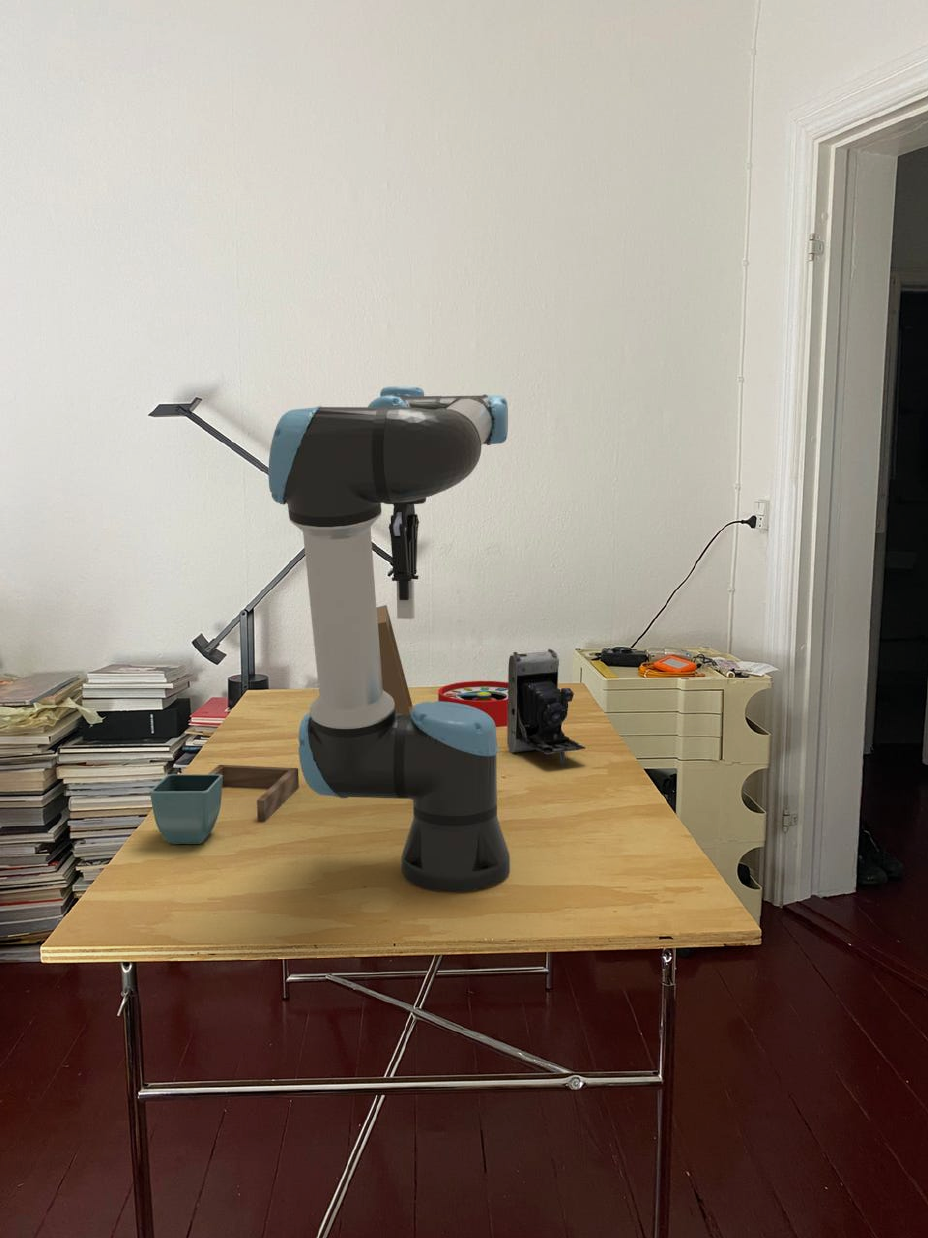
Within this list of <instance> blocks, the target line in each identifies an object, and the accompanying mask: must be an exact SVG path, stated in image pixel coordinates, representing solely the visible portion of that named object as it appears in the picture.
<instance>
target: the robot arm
mask: <svg viewBox="0 0 928 1238" xmlns="http://www.w3.org/2000/svg"><path fill="white" fill-rule="evenodd" d="M508 430H509V409H508V401H507V399H506V397H504V396H502V395H489V394H483V395H447V396H446V395H442V396H441V395H425V392H424V390H423V389H422V388H421V387H419V386H407V385H406V386H405V385H403V386H402V385H401V386H400V385H399V386H387V387H383V388H382V389H380V392H379V397H377V398H375V399H374V400H373V399H372V401H371V402H370V403H369V404H368V405H367V406H364V407H363V406H362V407H361V406H360V407H359V406H349V407H348V406H321V405H319V406H315V407H307V408H305V407H304V408H295V409H290V410H288V411H287V412H285V413H284V414H283V415H282V416H281V417H280V419H279V420H278V421H277V424H276V426H275V429H274V432H273V436H272V439H271V443H270V450H269V457H268V469H267V470H268V488H269V492H270V494H271V498H272V500H273V501H274V502H275V503H279V504H280V505H283V506H284V505H286V504H287V510H288V517H289V518H288V519H289V522H290V523H292V524H293V525H294V526H295V527H296V528H297V529H299V530H300V531H302V538H303V544H304V545H303V546H304V547H303V548H304V554H305V555H304V556H305V565H306V567H305V568H306V573H307V574H306V577H307V584H308V585H307V586H308V597H309V606H310V616H311V624H312V634H313V646H314V655H315V656H314V657H315V665H316V674H317V684H318V685H317V686H318V695H319V696H318V697H316V698H315V699H314V700H313V702H312V703H311V704H310V706H309V712H308V713H306V714H305V715H304V716H303V717H302V720H301V722H300V724H299V729H298V743H299V747H298V757H299V764H300V768H301V772H302V775H303V777H304V780H305V782H306V784H307V785H308V787H309V788H310V789H311V791H313V792H314V793H316V794H318V795H320V796H328V797H329V796H330V797H336V798H339V799H348V798H368V799H369V798H370V799H396V800H397V799H403V800H412V804H413V805H412V806H413V808H412V809H413V813H412V814H413V818H412V822H411V825H410V828H409V831H408V834H407V837H406V841H405V844H404V846H403V850H402V854H401V859H400V860H401V875H402V877H403V878H404V879H405V880H406V881H408V882H409V883H411V885H415V886H416V887H418V888H419V887H420V888H422V889H425V890H431V891H436V892H445V893H446V892H447V893H464V892H472V891H478V890H483V889H486V888H489V887H492V886H496V885H497V884H499V883H501V882H503V881H504V880H506V878H507V877H508V876H509V874H510V872H511V869H510V868H511V866H510V861H511V860H510V853H509V849H508V846H507V843H506V840H505V837H504V834H503V831H502V828H501V825H500V822H499V819H498V784H497V783H498V780H497V779H498V777H497V774H498V773H497V772H498V771H497V768H498V767H497V766H498V765H497V761H498V759H497V755H498V753H499V746H498V741H497V739H498V737H497V727H496V726H495V723H494V721H493V719H492V718H491V717H490V716H489V715H488V714H487V713H485V712H483V711H481V710H480V709H477V708H474V707H471V706H468V705H463V704H458V703H452V702H440V701H437V700H436V701H435V700H434V701H433V702H431V701H423V702H419V703H417V704H414V705H413V709H412V711H411V713H410V714H395V703H394V700H393V698H392V697H391V696H390V695H389V694H388V693H386V692H385V691H384V690H383V689H382V676H381V662H380V648H379V635H378V621H377V607H378V606H377V595H376V582H375V569H374V555H373V541H372V528H371V527H372V526H373V525H374V523H375V522H376V521H377V520H378V519H379V518H380V517H381V516H382V504H384V505H393V511H392V514H391V515H390V523H389V525H388V530H389V536H390V543H391V544H390V545H391V546H390V547H391V557H392V558H391V561H392V571H393V572H392V573H393V575H392V576H393V577H391V581H392V582H396V613H397V614H396V615H397V617H396V619H402V620H403V619H404V620H405V619H407V620H408V619H409V620H413V619H415V580H419V577H420V575H417V573H418V569H417V562H418V560H417V559H418V539H419V538H418V534H419V525H420V520H419V516H418V514H416V509H415V505H422V504H425V503H426V501H427V498H429V497H432V496H435V495H438V494H440V493H443V492H445V491H447V490H449V489H451V488H453V487H455V486H457V485H458V484H460V483H461V482H463V480H465V479H466V478H467V477H469V476H470V475H471V474H472V473H473V471H474V470H475V468H476V466H477V465H478V463H479V461H480V458H481V453H482V446H483V445H487V446H490V445H494V444H495V445H497V444H498V445H499V444H503V443H505V442H506V440H507V439H508V434H509V433H508Z"/></svg>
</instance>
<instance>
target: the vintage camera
mask: <svg viewBox="0 0 928 1238" xmlns="http://www.w3.org/2000/svg"><path fill="white" fill-rule="evenodd" d="M512 653H513V654H512V655H511V654H510V655H509V658H508V673H507V675H508V676H507V677H508V678H507V680H508V681H507V682H508V721H507V726H506V727H507V728H506V729H507V730H506V732H507V733H506V735H507V736H506V744H507V748H508V751H509V752H510V753H511V754H514V753H523V752H529V751H530V752H531V751H539V752H541V753H543V754H545V755H551V754H552V755H553V754H557V753H559V757H560V767H561V768H566V755H565V753H566V752H572V751H579V750H585V749H586V748H587V747H585V746H583V745H581V744H580V743H579V742H577V741H574V740H572V739H570V737H568V736H566V735H565V733H564V731H563V728H562V724H563V723H564V721H565V719H566V718H567V716H568V710H569V702H572V701H573V699H574V696H575V693H574V691H573V690H572V689H571V688H569V687H564V688H559V684H558V683H559V666H560V659H559V657H558V653H557V652H556V651H554V650H553V649H551V648H548V649H547V650H546V651H534V652H525V653H518V652H517V651H514V652H512Z"/></svg>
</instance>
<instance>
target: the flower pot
mask: <svg viewBox="0 0 928 1238" xmlns="http://www.w3.org/2000/svg"><path fill="white" fill-rule="evenodd" d="M222 780H223V775H220V774H208V773H207V774H205V773H202V774H199V773H197V774H189V773H187V774H182V773H179V774H178V773H175V774H174V773H172V774H167V775H165V776H164V777H163V778H162V779H161V780H160V781H159V782H158V783H157V784H156V785H155V786H153V787H152V788H151V790H149V796H150V801H151V807H152V811H153V816H154V820H155V823H156V824H155V825H156V826H157V828H158V830H159V832H160V834H161V836H162V837H163V838H164V840H166V842H167V843H168V844H170V845H184V844H185V845H200V844H203V843H204V842H205V840H207V838H208V837H209V835H211V833H212V832H213V831H212V830H213V829H214V828H215V825H216V823H217V820H218V817H219V814H220V810H221V804H222V793H223V792H222V791H223V788H222Z"/></svg>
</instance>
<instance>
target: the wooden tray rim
mask: <svg viewBox="0 0 928 1238" xmlns="http://www.w3.org/2000/svg"><path fill="white" fill-rule="evenodd" d="M207 774H220V775H223V780H222V789H223V788H224V787H233V788H234V787H236V788H254V789H267V790H266V791H265V792H264V793H263V794H262V795H261V796H259V798H258V799H256V804H257V805H256V807H257V808H256V809H257V822H264V823H265V822H267V820H269V818H270V817H271V816H272V815H273V814H274V813H275V812H277V810H278V809H279V808H280V807H281V806H282V805H283V804H284V803H285V802H286V801H287V800H288V799H289V798H291V796H292V795H293V794H294V793H295V792H296V791H297V790H298V789H299V787H300V785H299V784H300V782H299V780H300V779H299V768H298V767H281V766H256V765H234V764H233V765H231V764H218V765H216V767H215V768H213V769H212V770H211V771H209V772H208V773H207ZM286 799H287V800H286ZM283 802H284V803H283ZM282 803H283V804H282ZM281 804H282V805H281Z"/></svg>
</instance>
